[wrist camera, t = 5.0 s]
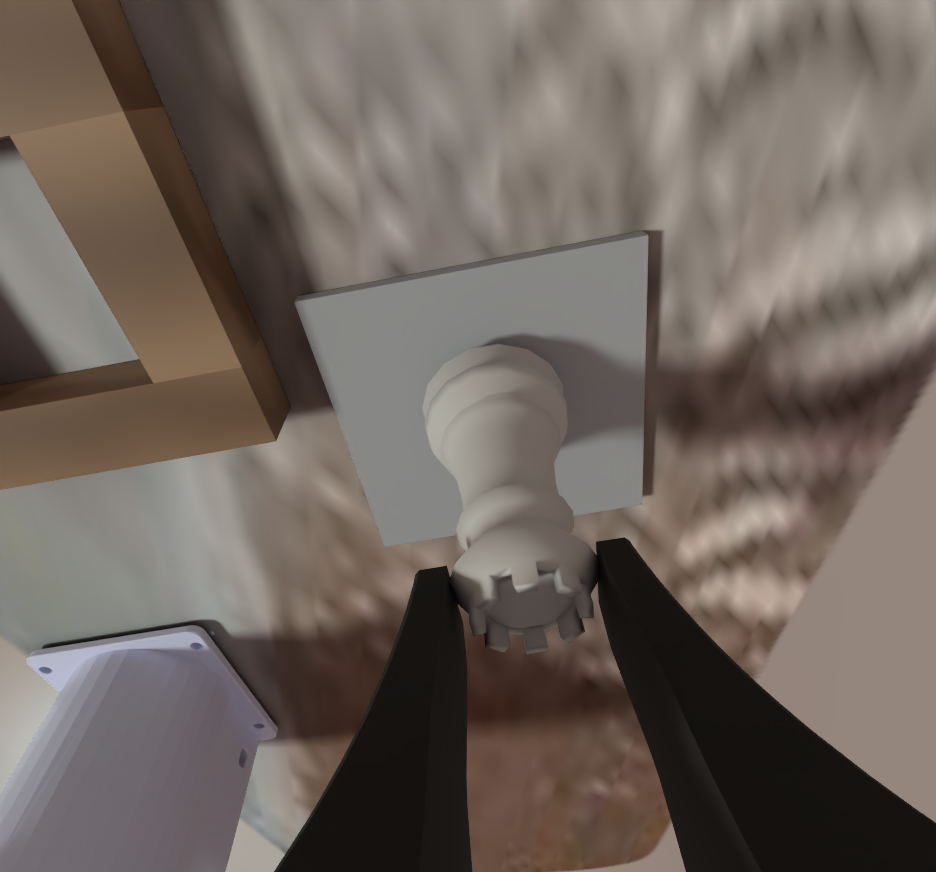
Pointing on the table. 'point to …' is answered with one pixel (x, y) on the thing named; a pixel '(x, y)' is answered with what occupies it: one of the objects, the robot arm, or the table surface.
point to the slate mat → (477, 325)
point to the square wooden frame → (124, 260)
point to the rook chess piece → (510, 496)
